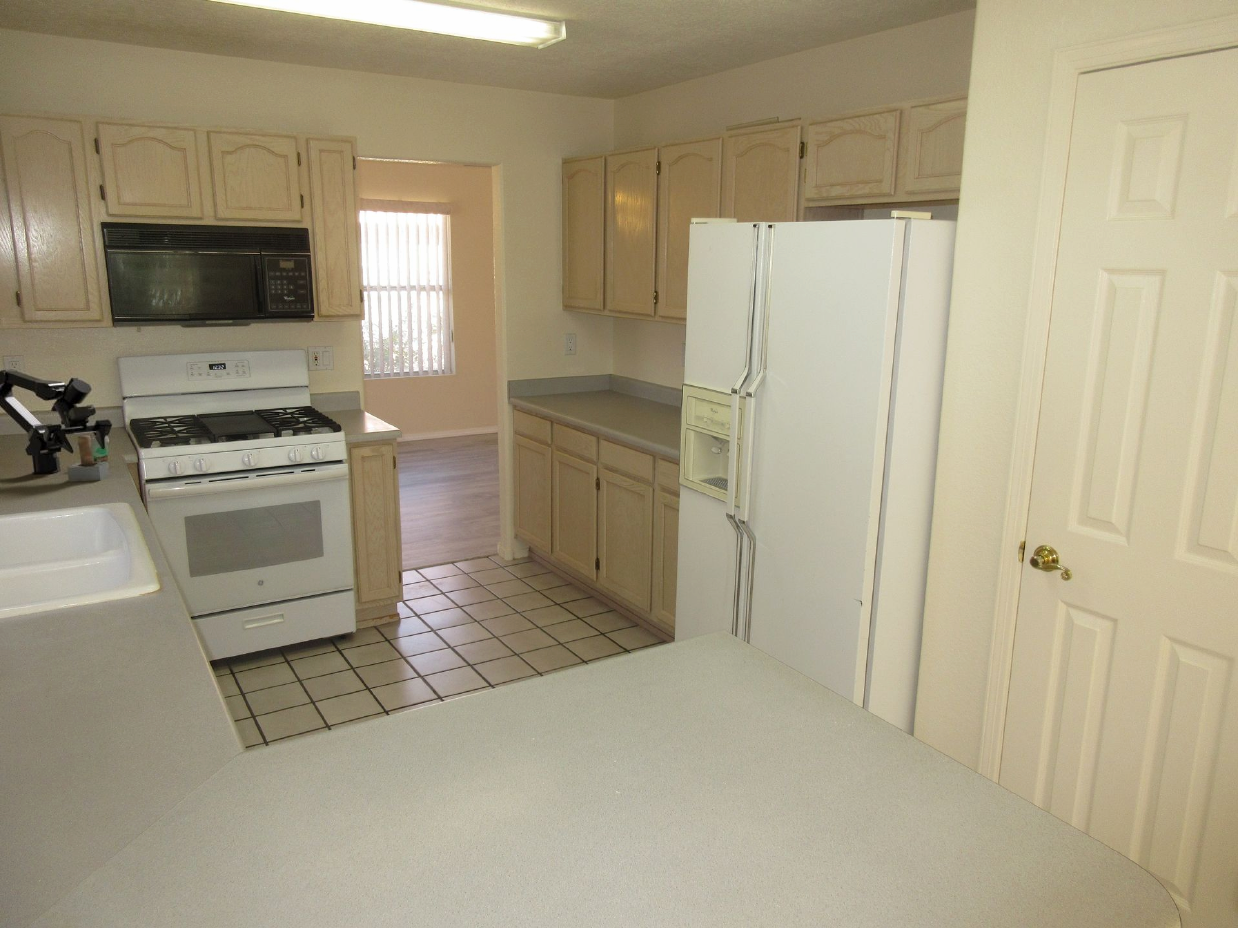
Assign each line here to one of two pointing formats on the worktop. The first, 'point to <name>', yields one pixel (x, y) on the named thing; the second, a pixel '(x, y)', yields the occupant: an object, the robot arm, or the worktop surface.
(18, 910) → the worktop surface
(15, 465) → the worktop surface
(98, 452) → the food container
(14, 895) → the worktop surface
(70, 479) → the block
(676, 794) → the worktop surface
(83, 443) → the dowel
